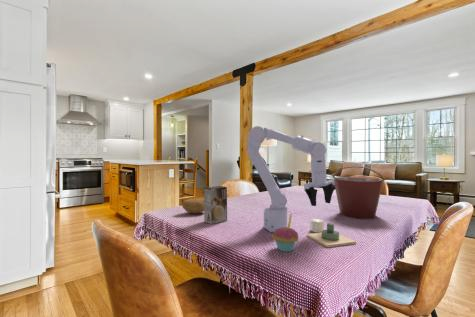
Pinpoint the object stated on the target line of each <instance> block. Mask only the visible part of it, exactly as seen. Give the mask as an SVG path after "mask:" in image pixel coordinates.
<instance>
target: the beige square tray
mask: <svg viewBox="0 0 475 317" xmlns="http://www.w3.org/2000/svg"><path fill="white" fill-rule="evenodd" d="M306 237H307V238H309V239H311V240H312V241H314V242H316V243H318V244H320V245H321V246H323V247H324V248H326V249H327V248H334V247H335V248H336V247H341V246H342V247H343V246H351V245H356V244H357V242H356V240H353V239H351V238H349V237H346V236H344V235H342V234H340V232H338V231H337V230H335V224H334V223H331V222H330V223H326V229H324V230H323V231H322V232H313V233H307V234H306Z"/></svg>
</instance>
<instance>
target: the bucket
mask: <svg viewBox="0 0 475 317" xmlns="http://www.w3.org/2000/svg"><path fill="white" fill-rule="evenodd" d="M348 168H349V169H350V168H362V169H365V170H367V171H371V172H373V173H374V174H377V175H378V176H380V178H375V177H366V176H365V177H364V176H363V177H359V176H358V177H357V176H340V177H339V176H337V175H338V174H339V173H340V172H341V171H342V170H345V169H348ZM335 176H337V177H335ZM331 177H332V179H333V180H334V183H335V185H334V186H335V189H334V190H335V193H336V200H337V203H338V209H339V213H340V214H341V215H342V216H343V217H347V218H352V219H358V220H369V219H370V220H373V219H375V217H376V215H377V210H378V205H379V202H380V201H379V200H380V197H381V192H382V187H383V182H385V181H386V178H385V176H384V175H383V174H382V173H380V172H379V171H377V170H374V169H372V168H369V167H367V166H359V165H358V166H357V165H354V166H344V167H340V168H338V169H337V171H335V172H333V173H332V174H331Z"/></svg>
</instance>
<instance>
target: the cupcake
mask: <svg viewBox="0 0 475 317" xmlns="http://www.w3.org/2000/svg"><path fill="white" fill-rule="evenodd" d="M292 214H293V213H290V215H289V218H288V222H287V227H283V228H277V229H276V230H275V231H273V232H272V235H271V238H272V239H273V240H274V241H275V243H276V246H277V250H279V251H281V252H285V253H287V252H291V251H293V249H294V246H295V243H296V242H298V240H299V233H298V232H297V231H296V230H295V229H294V228H292V227H291V223H292V218H293V217H292Z"/></svg>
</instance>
